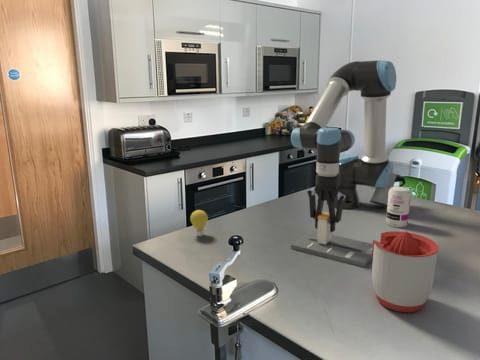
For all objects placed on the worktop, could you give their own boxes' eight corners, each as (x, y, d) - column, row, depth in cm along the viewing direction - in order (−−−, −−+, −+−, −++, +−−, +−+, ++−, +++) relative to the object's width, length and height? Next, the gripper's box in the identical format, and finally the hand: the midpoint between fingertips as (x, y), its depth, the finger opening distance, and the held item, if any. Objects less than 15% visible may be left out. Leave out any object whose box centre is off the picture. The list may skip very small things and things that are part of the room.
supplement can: (404, 221, 164) (407, 186, 160) (410, 228, 156) (414, 191, 152) (383, 220, 165) (386, 185, 161) (389, 227, 157) (392, 191, 153)
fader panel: (310, 233, 152) (310, 229, 152) (379, 249, 138) (379, 245, 137) (290, 248, 139) (290, 244, 139) (364, 267, 125) (364, 262, 124)
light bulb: (187, 236, 151) (186, 211, 148) (197, 230, 157) (196, 206, 154) (202, 239, 148) (201, 214, 145) (211, 233, 154) (211, 209, 151)
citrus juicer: (375, 278, 118) (380, 215, 113) (438, 298, 107) (447, 229, 102) (353, 301, 106) (357, 232, 101) (421, 326, 95) (430, 249, 90)
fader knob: (322, 237, 143) (324, 211, 141) (331, 239, 141) (333, 213, 139) (316, 242, 139) (317, 216, 136) (325, 244, 137) (327, 218, 135)
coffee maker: (365, 198, 177) (376, 160, 179) (364, 200, 186) (374, 164, 188) (400, 208, 174) (410, 169, 175) (397, 209, 182) (407, 172, 184)
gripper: (300, 173, 135) (299, 237, 141) (346, 179, 126) (342, 247, 132) (310, 169, 141) (308, 230, 147) (354, 174, 132) (350, 240, 138)
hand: (324, 238), depth 140 cm, fingers closed on fader knob, 3 cm apart
